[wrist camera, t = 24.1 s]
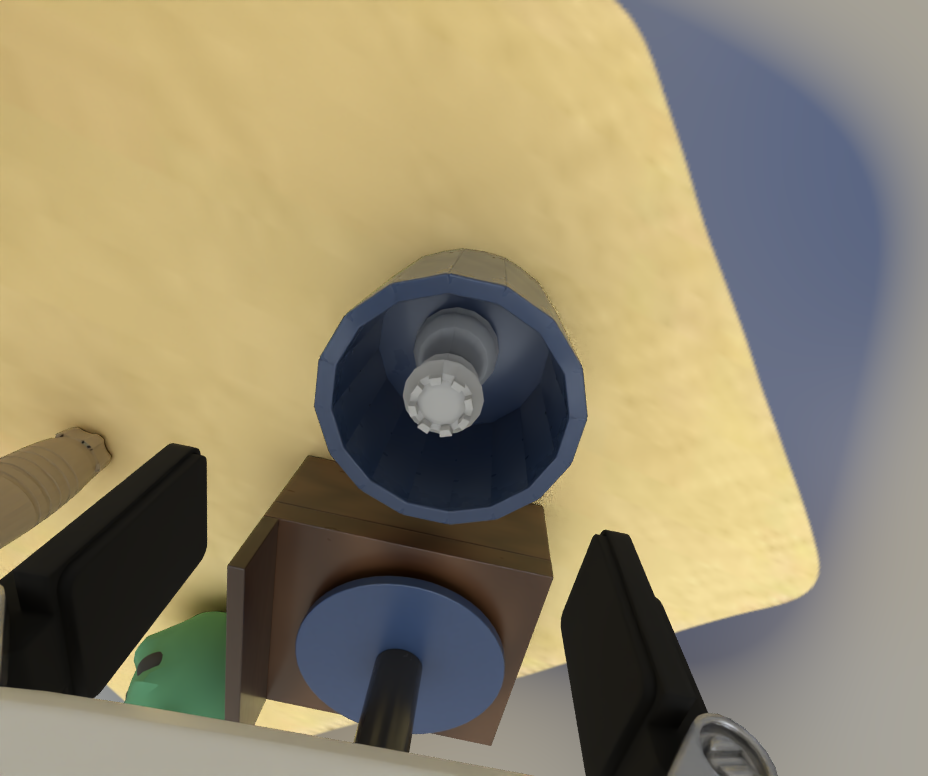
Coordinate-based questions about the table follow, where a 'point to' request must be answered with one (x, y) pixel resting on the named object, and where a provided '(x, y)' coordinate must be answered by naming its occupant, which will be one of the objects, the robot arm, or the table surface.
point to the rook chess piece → (450, 371)
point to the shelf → (367, 555)
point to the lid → (400, 658)
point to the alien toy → (183, 668)
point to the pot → (505, 391)
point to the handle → (46, 478)
